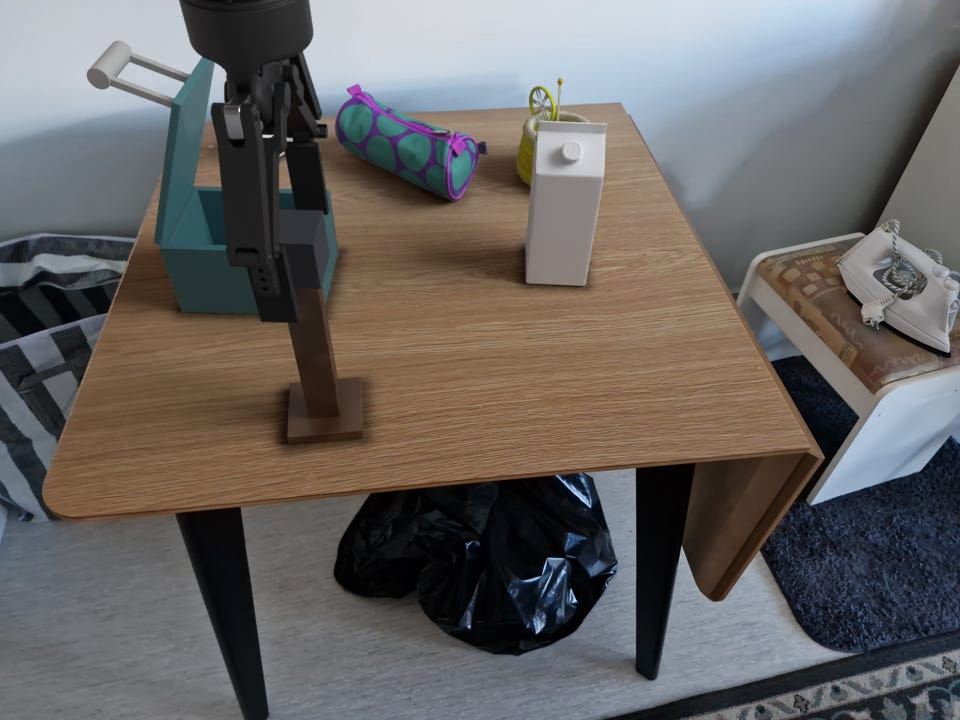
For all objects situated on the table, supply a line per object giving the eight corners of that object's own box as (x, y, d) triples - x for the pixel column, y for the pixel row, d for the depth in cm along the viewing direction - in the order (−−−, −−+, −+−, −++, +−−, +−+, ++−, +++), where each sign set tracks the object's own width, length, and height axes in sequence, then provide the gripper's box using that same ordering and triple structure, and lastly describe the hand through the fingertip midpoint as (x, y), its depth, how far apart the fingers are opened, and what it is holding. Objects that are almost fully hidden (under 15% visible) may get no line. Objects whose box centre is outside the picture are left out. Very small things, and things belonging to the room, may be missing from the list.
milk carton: (525, 248, 91) (538, 104, 77) (581, 250, 91) (604, 107, 77) (525, 284, 86) (539, 138, 72) (585, 287, 86) (610, 141, 72)
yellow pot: (596, 200, 99) (609, 118, 90) (516, 198, 99) (522, 115, 90) (588, 152, 108) (600, 73, 99) (515, 149, 108) (520, 70, 99)
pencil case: (486, 185, 101) (489, 121, 94) (447, 214, 96) (447, 148, 89) (375, 138, 109) (370, 75, 102) (333, 162, 104) (325, 98, 97)
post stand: (288, 445, 69) (250, 302, 56) (291, 390, 73) (257, 247, 60) (363, 438, 69) (342, 295, 56) (361, 384, 74) (341, 242, 61)
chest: (338, 252, 89) (329, 189, 83) (322, 316, 81) (311, 252, 75) (210, 248, 89) (192, 185, 83) (181, 312, 81) (158, 248, 75)
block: (321, 289, 57) (313, 244, 54) (265, 287, 57) (254, 242, 54) (330, 254, 60) (323, 210, 57) (277, 253, 60) (267, 208, 57)
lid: (217, 49, 72) (123, 12, 69) (181, 105, 63) (73, 65, 61) (194, 183, 83) (113, 155, 80) (161, 245, 74) (69, 216, 72)
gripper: (255, 73, 34) (318, 377, 49) (336, -84, 51) (364, 177, 67) (95, 68, 34) (208, 374, 49) (230, -87, 51) (283, 175, 67)
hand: (298, 261), depth 58 cm, fingers open, 13 cm apart
